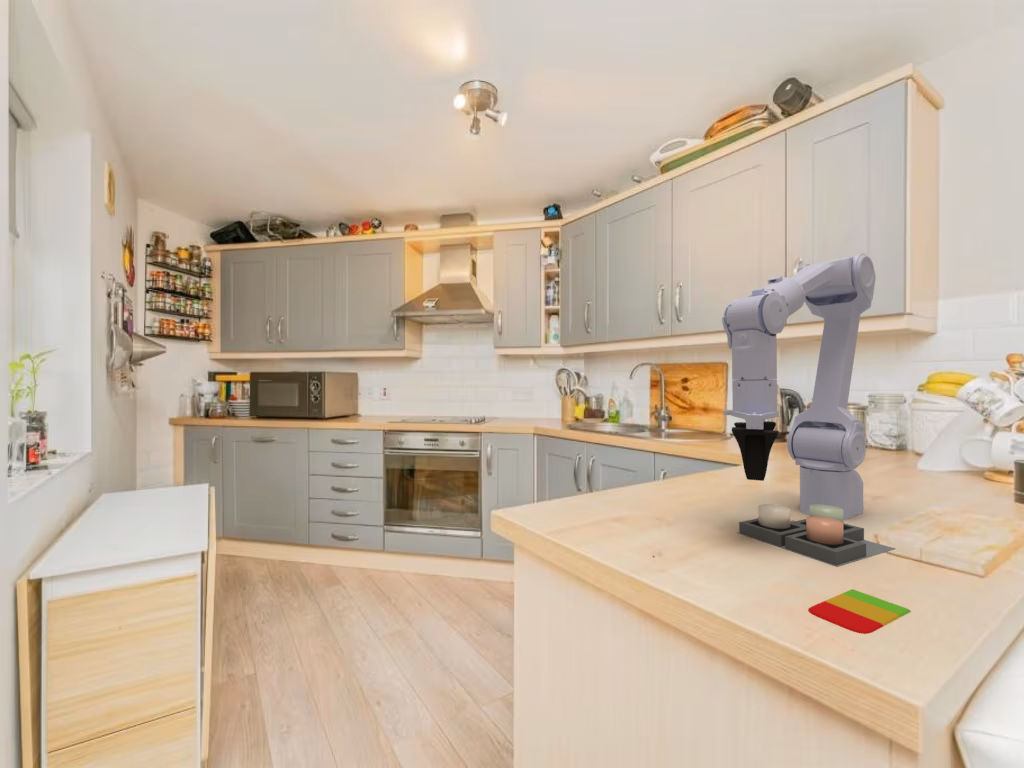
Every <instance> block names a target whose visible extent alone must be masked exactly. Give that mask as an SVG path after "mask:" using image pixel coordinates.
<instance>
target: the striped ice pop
mask: <svg viewBox="0 0 1024 768" xmlns="http://www.w3.org/2000/svg"><path fill="white" fill-rule="evenodd" d="M807 609H808V610H807V612H808V613H809V614H811V615H812V616H814V617H816V618H819V619H822V620H824V621H825V622H829V623H830V624H834V625H835V626H838V627H840V628H842V629H846V630H848V631H850V632H854V633H857V634H862V635H863V634H864V635H867V634H871V633H874V632H875V631H878V630H880V629H881V628H883V627H885V626H887V625H889V624H891V623H893V622H894V621H896V620H898V619H900V618H902V617H904V616H905V615H907V614H910V613H911V612H912V611H911V610H910V609H909V608H908V607H907V608H906V607H903V606H901V605H899V604H895V603H892V602H889V601H887V600H885V599H881V598H878V597H876V596H873V595H870V594H867V593H864V592H861V591H858V590H856V589H849V590H847V591H845V592H842V593H840V594H838V595H836V596H833V597H831V598H828V599H826V600H824V601H821V602H819V603H817V604H813V606H810V607H808V608H807Z"/></svg>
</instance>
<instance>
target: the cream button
mask: <svg viewBox="0 0 1024 768" xmlns="http://www.w3.org/2000/svg"><path fill="white" fill-rule="evenodd" d="M757 509H758V510H757V511H758V512H757V515H758V517H757V518H758V523H759V524H760V525H762V526H765V527H770V528H776V529H786V528H790V521H791V508H790V507H787V506H785V505H781V504H775V503H774V504H773V503H760V504H758V507H757Z"/></svg>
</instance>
